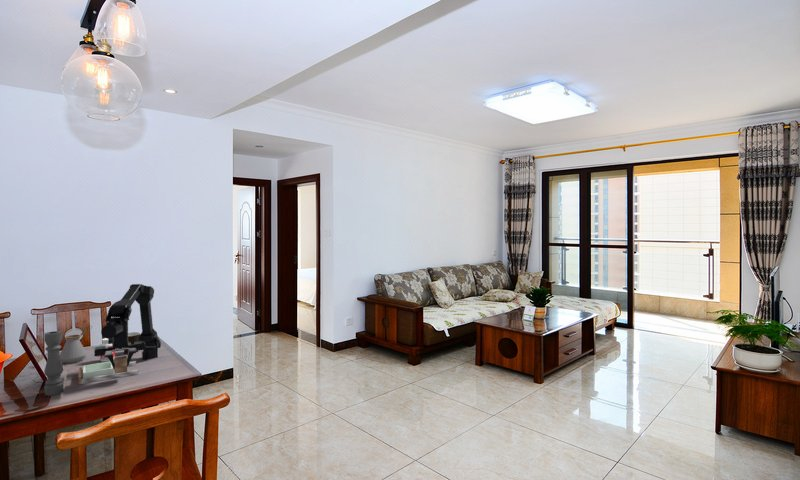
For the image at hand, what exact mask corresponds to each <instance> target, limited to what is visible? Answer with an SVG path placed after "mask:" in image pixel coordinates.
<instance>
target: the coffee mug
mask: <svg viewBox="0 0 800 480" xmlns="http://www.w3.org/2000/svg"><path fill="white" fill-rule="evenodd" d="M140 334H141V332H138V331H137V332H135V331H133V332H128V345H133V344H135V342H138V341H139V336H140ZM125 348H126V347H125ZM136 351H137V353H139V351H138V350H136ZM123 353H124V354H125V355H128V350H123Z"/></svg>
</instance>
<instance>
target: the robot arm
mask: <svg viewBox="0 0 800 480" xmlns="http://www.w3.org/2000/svg"><path fill="white" fill-rule="evenodd" d="M154 295H155V288H154V287H153V286H151V285H150V286H149V285H144V284H142V283H132V284H130V285H129V288H128V290H127V291H126V292H125V294H124V295H123V296H122V298H121V299H119V300H118V301H115V302H114V303H113V304H111V305H110V307H109V308H108V311H107V314H106V318H105V320H104V321H105V323H106V325H104V326H103V327H102V328H101V331H100V333H101V336H102V337H103V338H108V344H112V346H113V347H110V348H106V347H105V346H101V347H100V346H95V347H94V351H93V352H94V357H100V356H103V355H104V357H108V359H109V360H110V361H109V362H111V364H112V366H113V369H115V364H114V359H113V353H112V352H113V351H115V352H118V351H124V350H128V354H127V355H126V356H127V368H128V365H129V363H130V362H131V361H132V359H133V355H134V354H136V352H137V351H136V350H138V352H139V351H141V360H143V361H144V360H154V359H156V358H158V357H159V356H158V355H159V353H158V352H159V351H158V349H160V348H161V347H162V341H161V339H160V338H159V336H158V332H157V331H156V330H155V329H154V327H153V326H154V325H153V315H152V313H153V312H152V306H151V302H152V300H153V298H154V297H155V296H154ZM135 302H136V303H137V304H138V305H139V312H140V322H141V323H140V324H141V332H140V336H139V341H138V342H135V344H133V345H128V333H129V321H130V316H131V313H132V311H133V310H132V305H133V304H134V303H135ZM125 347H126V348H125ZM138 352H137V353H138Z"/></svg>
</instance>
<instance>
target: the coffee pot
mask: <svg viewBox="0 0 800 480" xmlns="http://www.w3.org/2000/svg"><path fill="white" fill-rule="evenodd" d="M92 328H93V326H92V325H87V326H86V327H85V329H84V330H82V332H81V333H80V334H70V335H66V336H65V337H64V339H65V343H64V346H62V347H63V348H61V349H62V350H61V351H60V352H59V353H60V359H61V363H63V364H74V363H80V362H82V361H83V359H85V358H86V357H87V355H88V353H87V350H86V349H85V347H84V345H83V344H82V342H81V340H80V339H81V337H83V335H84V334H86V333H87V331H88V330H89V329H92Z"/></svg>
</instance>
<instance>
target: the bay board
mask: <svg viewBox="0 0 800 480" xmlns="http://www.w3.org/2000/svg"><path fill="white" fill-rule="evenodd" d="M134 366H135V367H136V366H137V360H134V361H130V363H129V365H128V367H129V368H130V367H134ZM128 367H127V368H128ZM139 372H140V370H139V369H134V370H127V372H123V373H117V374H115V373H114V374H109V375H103V376H96V377H90V378H84V379H83V366H81V367H79V368H78V385H82V384H83V385H84V384H89V383H90V384H91V383H96V382H100V381H106V380H112V379H118V378H124V377H125V378H126V377H131V376H136V375H139V374H140V373H139Z"/></svg>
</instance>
